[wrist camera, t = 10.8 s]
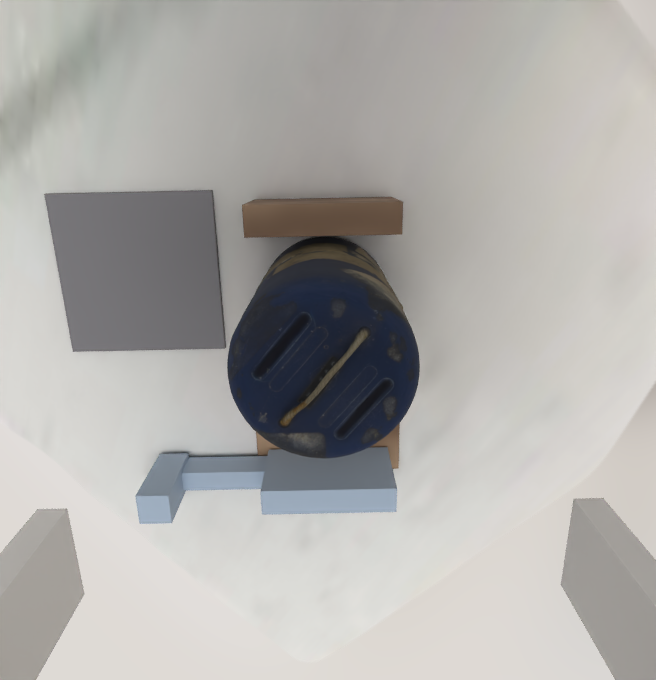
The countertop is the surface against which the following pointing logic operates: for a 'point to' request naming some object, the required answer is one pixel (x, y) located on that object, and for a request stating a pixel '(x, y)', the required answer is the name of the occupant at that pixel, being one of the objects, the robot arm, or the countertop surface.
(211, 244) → the mat
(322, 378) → the canister
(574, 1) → the countertop surface
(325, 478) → the tie jaw
